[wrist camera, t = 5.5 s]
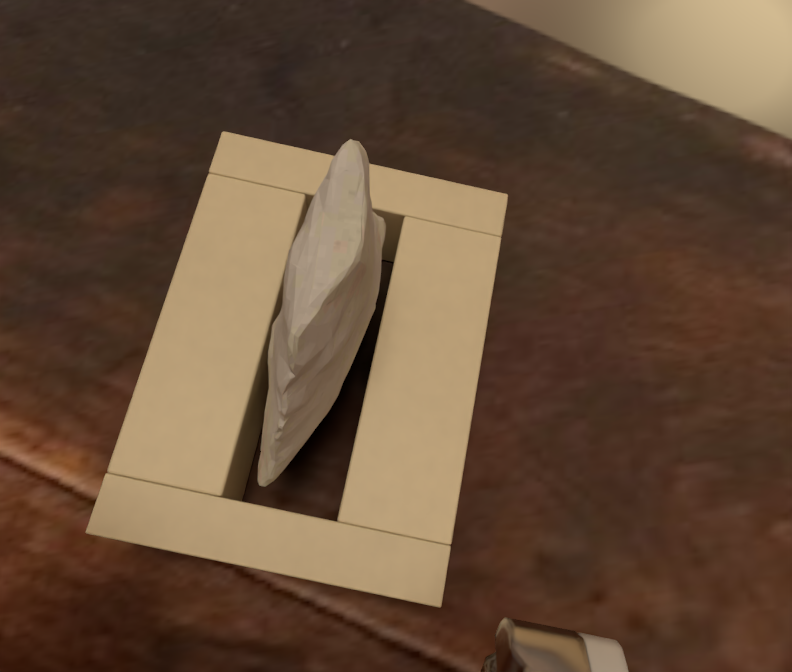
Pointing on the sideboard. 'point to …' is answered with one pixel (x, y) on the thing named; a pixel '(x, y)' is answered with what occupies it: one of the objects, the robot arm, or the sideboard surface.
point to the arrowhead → (321, 308)
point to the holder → (249, 381)
